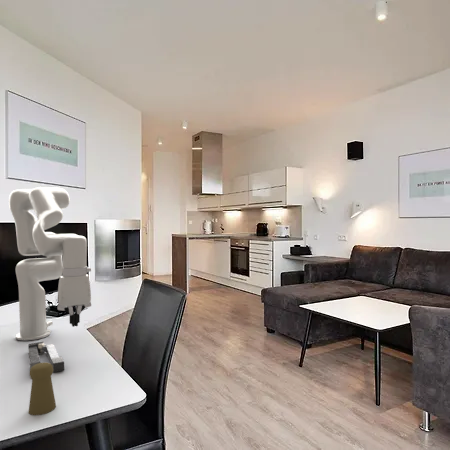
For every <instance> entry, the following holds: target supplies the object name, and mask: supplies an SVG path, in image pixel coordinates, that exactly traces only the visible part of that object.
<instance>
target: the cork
mask: <svg viewBox="0 0 450 450" xmlns="http://www.w3.org/2000/svg"><path fill="white" fill-rule="evenodd" d="M53 374H54V372H53V366H52V365H51V364H50V362H47V361H46V362H45V361H43V362H41V363H38V364H36V365H34V366H32V368H31V369H30V368H29V378H30V379H31V380H32V381H31V388H30V389H31V390H30V395H29V397H30V398H29V403H28V414H30V415H31V416H42V415H45V414H49V413H51V412H52V411H54V410H55V408H56V407H57V405H56V398H55V393H54V387H53V382H52V381H53V380H52V376H53Z"/></svg>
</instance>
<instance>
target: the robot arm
mask: <svg viewBox="0 0 450 450" xmlns="http://www.w3.org/2000/svg"><path fill="white" fill-rule="evenodd" d="M70 202H71V199H70V194H69V193H68V191H67V190H66V189H64V188H62V187H53V186H51V187H50V186H37V187H34V188H21V189H20V188H19V189H14V190H12V191H11V192H10V194H9V196H8V206H9V211H10V213H11V216H12V218H13V221H14V224H15V232H16V244H17V250H18V253H19V254H20V255H21V256H24V257H25V256H26V257H27V256H29V257H30V256H43V257H38V258H37V257H35V258H26V259H23V260H20V261H19V262H18V263H17V264H16V266H15V275H16V280H17V285H18V287H17V288H18V302H19V303H18V304H19V307H18V308H19V310H18V311H19V332H18V333H16V335H15V340H17V341H27V342H28V341H36V340H40V339H44V338H46V337H48V336H50V335H51V330H50V329H48V328H49V327H50V326H53V321H52V320H49V321H47V309H46V308H47V306H46V305H47V304H46V303H47V302H46V301H47V300H46V291H45V289H44V287H43V286H42V285H41V284H40V282H44V281H52V280H58V279H59V280H58V287H57V303H58V304H57V307H56V308H57V310H58V311H65V312H66V313H68V314H69V324H70V325H71V326H72V327H78V326H79V323H80V322H81V321H80V320H81V319H80V318H81V317H80V316H81V314H82V312H83V311H84V310H85V309H86V308H87V309H88V308H90V307H92V293H91V282H90V277H89V274H88V273H89V272H92V268H91V267H88V266H87V260H88V259H87V252H88V251H87V250H88V249H87V246H88V245H87V242H88V241H87V238H86V237H85V236H83V235H78V234H76V233H55V232H52V231H46V230H49V229H51V228H53V227H55V226H57V225H58V224H60V223H61V221H62V220H63V217H64V213H63V211H62V210H65V209H67V208H68V207H69V205H70ZM31 211H34V214H35V215H34V214H33V213H32V212H31ZM73 307H76V308H75V311H74V308H73Z"/></svg>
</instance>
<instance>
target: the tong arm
mask: <svg viewBox="0 0 450 450" xmlns="http://www.w3.org/2000/svg"><path fill="white" fill-rule="evenodd" d="M45 353H46V356H47V359H48V363H50V364H51V365H52V366H53V373H57V372H62V371H65V361H64V359H63V357H62V356H60V355H59V353H58V351H57V349H56V347H55V345H54V343H51V344H45V342H44V343H40V344H38V354H39V355H43V354H45Z"/></svg>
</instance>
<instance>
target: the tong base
mask: <svg viewBox="0 0 450 450" xmlns="http://www.w3.org/2000/svg"><path fill="white" fill-rule="evenodd" d="M40 343H44V344H45V342H44V341H39V342H33V343H28V345H27V346H28V350H27V351H28V355H29V357H28V359H29V362H30V363H29V370H30V369H31V368H32V366H34V365H36V364H38V363H42V362H41V359H40V354H38V344H40Z"/></svg>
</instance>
